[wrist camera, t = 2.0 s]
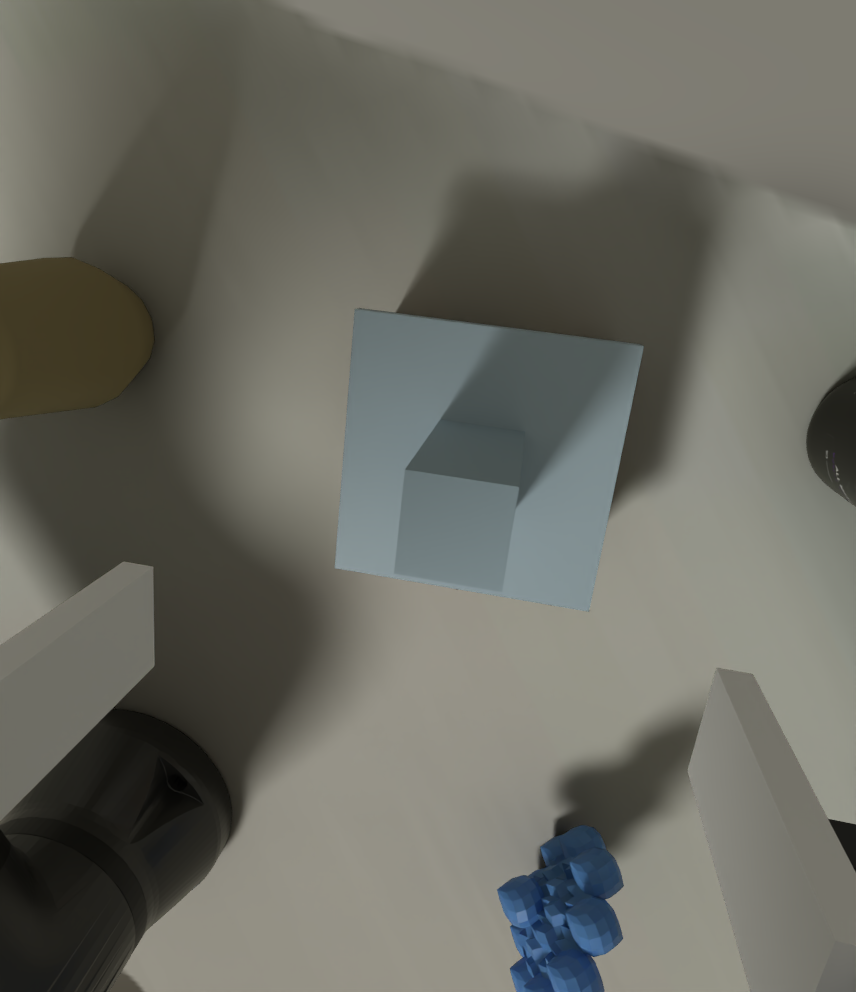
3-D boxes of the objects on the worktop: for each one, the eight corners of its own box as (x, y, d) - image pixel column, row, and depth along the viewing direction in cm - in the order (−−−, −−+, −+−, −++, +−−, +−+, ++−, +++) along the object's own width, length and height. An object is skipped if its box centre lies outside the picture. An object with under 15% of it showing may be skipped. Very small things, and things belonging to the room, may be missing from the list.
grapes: (538, 752, 46) (537, 909, 34) (634, 795, 46) (665, 966, 34) (469, 875, 50) (448, 1053, 38) (557, 914, 49) (562, 1104, 38)
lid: (339, 560, 37) (271, 658, 28) (360, 308, 33) (287, 321, 23) (587, 602, 36) (604, 720, 26) (640, 344, 31) (683, 373, 22)
